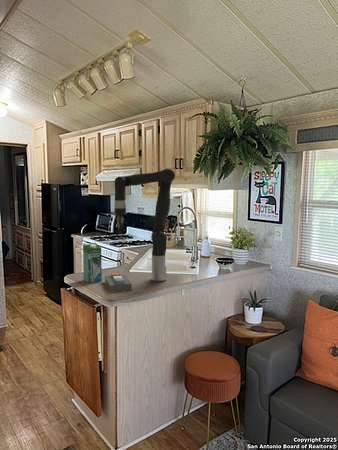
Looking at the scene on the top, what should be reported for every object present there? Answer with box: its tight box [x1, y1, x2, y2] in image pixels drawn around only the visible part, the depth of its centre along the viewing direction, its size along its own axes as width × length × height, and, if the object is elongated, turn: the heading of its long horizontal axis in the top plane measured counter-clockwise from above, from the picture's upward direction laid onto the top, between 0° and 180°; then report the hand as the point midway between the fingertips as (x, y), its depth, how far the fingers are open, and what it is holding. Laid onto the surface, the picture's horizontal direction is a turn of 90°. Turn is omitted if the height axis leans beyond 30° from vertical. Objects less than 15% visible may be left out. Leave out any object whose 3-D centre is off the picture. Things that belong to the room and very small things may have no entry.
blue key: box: [115, 278, 125, 285], centre depth 202 cm, size 5×5×3 cm
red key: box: [110, 272, 121, 278], centre depth 216 cm, size 5×5×3 cm
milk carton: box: [82, 242, 103, 284], centre depth 218 cm, size 9×9×25 cm
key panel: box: [104, 274, 133, 293], centre depth 209 cm, size 13×22×4 cm, turn 19°
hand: (120, 233), depth 217 cm, fingers closed
